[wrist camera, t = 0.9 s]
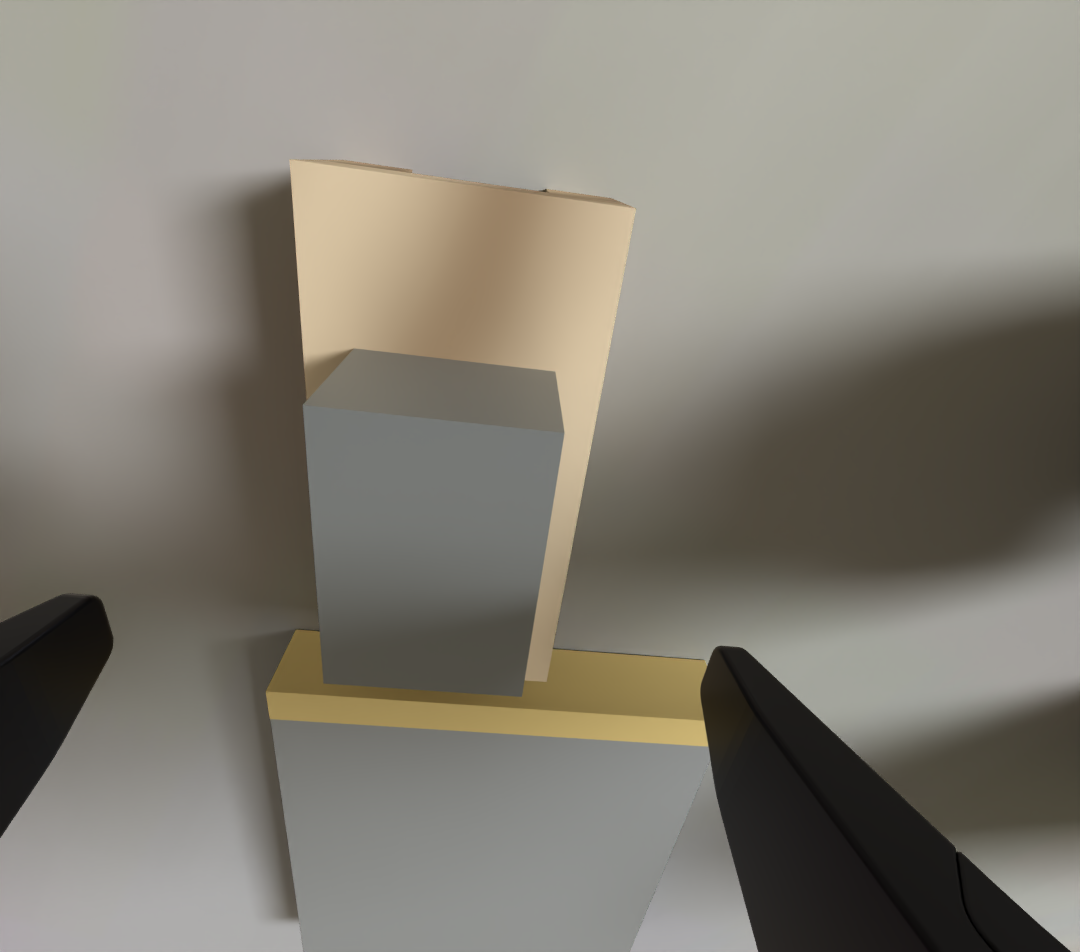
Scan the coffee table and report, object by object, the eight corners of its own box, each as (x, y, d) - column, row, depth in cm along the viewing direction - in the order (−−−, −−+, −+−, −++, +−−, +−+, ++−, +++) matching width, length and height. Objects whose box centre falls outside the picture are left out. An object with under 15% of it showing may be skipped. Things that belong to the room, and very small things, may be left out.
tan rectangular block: (609, 197, 13) (636, 208, 10) (542, 597, 19) (546, 681, 16) (345, 160, 13) (289, 159, 10) (358, 582, 18) (324, 666, 15)
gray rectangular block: (555, 371, 12) (564, 433, 9) (522, 599, 14) (522, 696, 12) (353, 348, 11) (302, 405, 9) (360, 586, 14) (323, 683, 12)
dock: (704, 660, 20) (726, 722, 18) (609, 919, 29) (617, 982, 26) (295, 629, 19) (265, 691, 17) (323, 908, 28) (306, 973, 25)
